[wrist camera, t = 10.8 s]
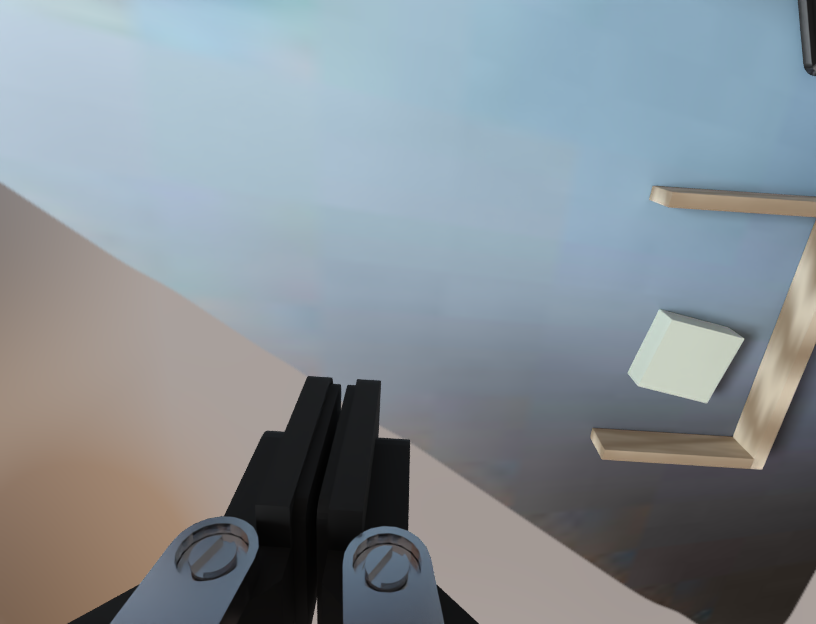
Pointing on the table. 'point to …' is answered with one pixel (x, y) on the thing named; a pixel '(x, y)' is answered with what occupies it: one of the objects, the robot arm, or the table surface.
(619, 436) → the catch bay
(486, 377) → the table surface
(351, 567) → the robot arm
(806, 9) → the phone
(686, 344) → the sage tile
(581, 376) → the table surface
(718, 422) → the table surface
